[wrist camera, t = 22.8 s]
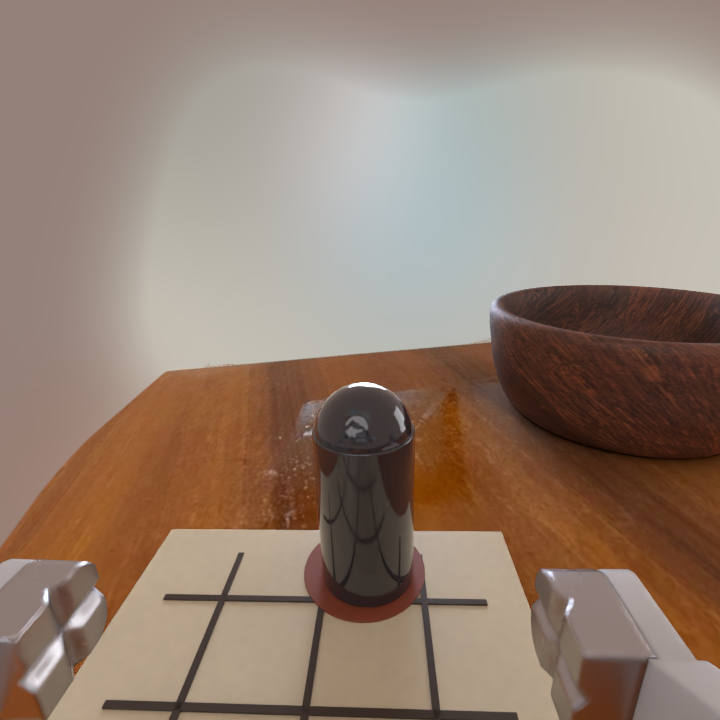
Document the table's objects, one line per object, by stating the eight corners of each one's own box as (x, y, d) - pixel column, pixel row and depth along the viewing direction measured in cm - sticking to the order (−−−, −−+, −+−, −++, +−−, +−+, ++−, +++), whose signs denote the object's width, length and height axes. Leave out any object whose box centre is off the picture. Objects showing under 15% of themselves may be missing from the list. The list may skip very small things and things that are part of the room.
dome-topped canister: (316, 607, 21) (299, 409, 17) (328, 536, 25) (317, 368, 22) (416, 609, 20) (419, 408, 17) (410, 537, 25) (412, 367, 22)
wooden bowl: (547, 352, 60) (556, 277, 56) (799, 405, 42) (834, 301, 39) (435, 410, 44) (438, 310, 40) (765, 534, 26) (819, 376, 23)
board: (-312, 1327, 8) (-353, 1311, 8) (176, 541, 27) (172, 524, 27) (823, 1465, 7) (850, 1453, 6) (499, 544, 26) (500, 527, 26)
